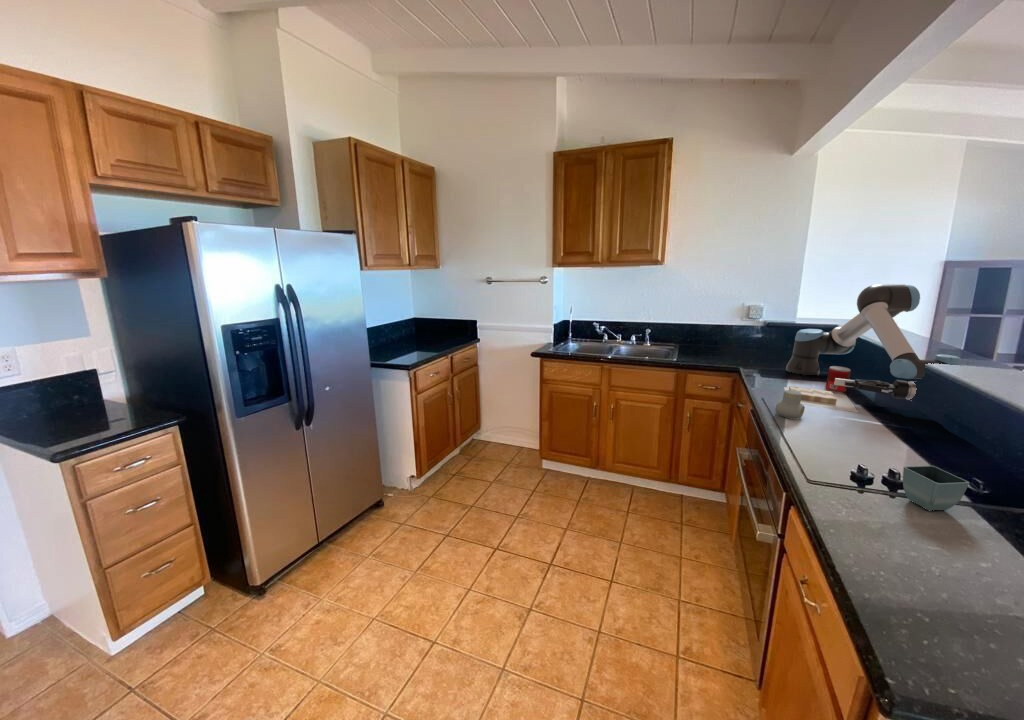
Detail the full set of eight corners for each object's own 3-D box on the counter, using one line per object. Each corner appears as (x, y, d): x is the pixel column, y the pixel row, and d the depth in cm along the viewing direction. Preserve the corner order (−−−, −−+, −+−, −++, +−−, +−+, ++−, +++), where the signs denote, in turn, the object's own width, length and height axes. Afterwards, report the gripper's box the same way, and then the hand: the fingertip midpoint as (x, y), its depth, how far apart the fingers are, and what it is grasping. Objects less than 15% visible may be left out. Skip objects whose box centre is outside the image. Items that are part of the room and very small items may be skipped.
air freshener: (780, 410, 175) (784, 386, 172) (804, 415, 169) (808, 391, 167) (772, 416, 167) (776, 392, 165) (797, 423, 162) (801, 398, 159)
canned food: (849, 393, 197) (854, 370, 194) (829, 392, 198) (834, 369, 196) (840, 388, 204) (845, 366, 201) (821, 387, 206) (826, 365, 203)
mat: (783, 388, 204) (783, 386, 203) (845, 396, 193) (845, 395, 193) (788, 403, 183) (788, 401, 183) (857, 413, 172) (858, 412, 172)
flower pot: (894, 496, 113) (902, 465, 111) (924, 495, 114) (933, 465, 112) (928, 516, 104) (938, 483, 102) (960, 515, 105) (971, 482, 103)
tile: (830, 396, 190) (788, 390, 198) (831, 391, 190) (789, 385, 197) (835, 404, 180) (791, 398, 187) (836, 399, 180) (792, 393, 187)
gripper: (909, 403, 168) (835, 393, 179) (899, 394, 179) (830, 385, 190) (914, 385, 166) (839, 376, 177) (903, 377, 177) (834, 369, 188)
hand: (835, 381), depth 183 cm, fingers closed
